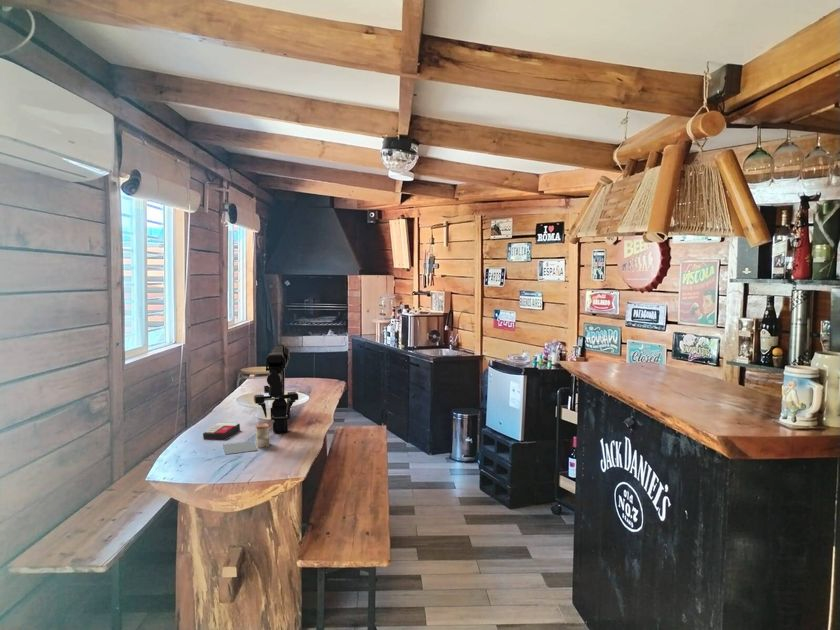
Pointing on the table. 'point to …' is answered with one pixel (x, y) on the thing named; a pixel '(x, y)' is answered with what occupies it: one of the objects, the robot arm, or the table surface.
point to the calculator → (221, 431)
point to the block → (262, 435)
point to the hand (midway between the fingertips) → (276, 416)
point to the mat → (239, 447)
